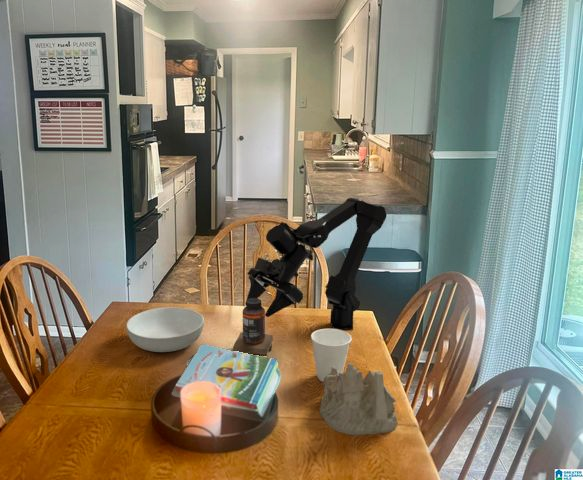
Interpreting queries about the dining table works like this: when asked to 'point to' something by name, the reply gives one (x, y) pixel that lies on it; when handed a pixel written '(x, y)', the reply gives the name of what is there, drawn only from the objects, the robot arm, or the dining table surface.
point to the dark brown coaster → (254, 345)
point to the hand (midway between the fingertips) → (256, 310)
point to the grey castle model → (357, 402)
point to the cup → (330, 350)
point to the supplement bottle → (253, 322)
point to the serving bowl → (165, 328)
